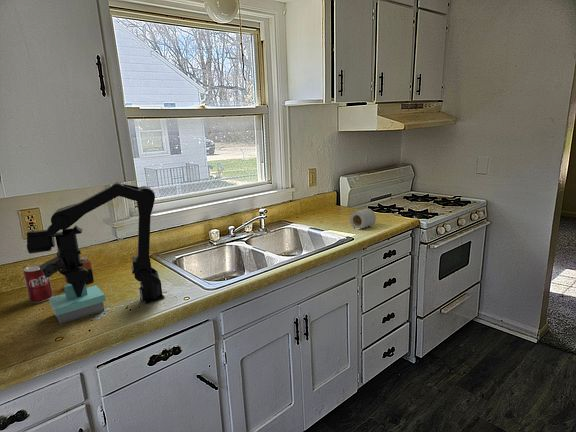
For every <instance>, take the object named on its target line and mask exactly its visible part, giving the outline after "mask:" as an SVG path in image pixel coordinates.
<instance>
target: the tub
mask: <svg viewBox="0 0 576 432" xmlns="http://www.w3.org/2000/svg"><path fill="white" fill-rule="evenodd" d="M104 311H105V307H104V302H101V303H98V304H94V305H91V306H88V307H84V308H81V309H78V310H74V311H71V312H68V313H64V314H61V315H58V316H56V315H55V317H56V320H57V321H58V323H59V325H63V324H66V323H70V322H73V321H75V320H80V319H82V318H85V317H88V316H89V317H90V316H92V315H95V314H98V313H101V312H104Z"/></svg>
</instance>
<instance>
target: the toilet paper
mask: <svg viewBox="0 0 576 432" xmlns="http://www.w3.org/2000/svg"><path fill="white" fill-rule="evenodd" d="M376 220H377V217H376V214H375V212H374V211H373V210H372V209H371V208H363V209H360V210H356V211H353V212H352V213H351V214H350V217H349V221H350V222H349V223H350V224H351V225H350V226H352V228H353V227H356V228H361V229H360V230H363V229H365V227H366V228H369V227H372V226H374V224H375V223H376ZM371 225H372V226H371ZM368 226H369V227H368ZM362 228H363V229H362Z"/></svg>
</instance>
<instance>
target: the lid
mask: <svg viewBox="0 0 576 432" xmlns="http://www.w3.org/2000/svg"><path fill="white" fill-rule="evenodd" d="M63 289H64V290H63V291H64V293H63V294H59V295H56V296H52V297H51V298H49V300H48V301H49V305H50V308H51V310H52V311H53V313H54V316H55V317H56V316H58V315H61V314H64V313H68V312H71V311H74V310H78V309H81V308H84V307H88V306H91V305H94V304H98V303H101V302H103V303H104V302H106V294H105V293H104V292H103V291H102V290H101V288H100V287H99V286H98V285H96V284H95V285H92V286H88V287H87V284H86V282H85V285H84V288H83V291H82V294H81V297H77V296H76V294H75V292H74V289H73V287H72V284H69V283H67V284H64V285H63Z"/></svg>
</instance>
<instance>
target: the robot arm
mask: <svg viewBox="0 0 576 432" xmlns="http://www.w3.org/2000/svg"><path fill="white" fill-rule="evenodd" d="M155 195H156V194H155V192H154V190H153V189H152V188H151V187H149V186H148V185H147V186H146V185H143V186H136V185H131V184H126V183H125V184H124V183H122V182H119V181H118V182H114V183H113V184H112V185H110V186H109V187H106V188H105V189H103V190H101V191H98V192H97V193H95V194H93V195H91V196H89V197H87V198H85V199H83V200H82V201H79V202H77V203H74V204H70V205H66V206H64V207H60V208H58V209H57V210H55V212H54V213H53V214H51V215H52V216H51V218H50V225H49V226H48V227H47V229H43V230H30V231H28V232H26V236H27V237H26V250H27V252H28V254H30V255H31V254H38V253H45V252H52V249H53V248H55V247H56V248H57V251H56V256H55V257H54V258H51V259H49V260H47V261H45V262H43V263H42V264H39V265H40V266H39V268H40V270H41V271H42V273H43V274H44V275H45V277H46V278H48V277H49V278H50V277H52V275H53V274H56V273H58V272H59V274H61V275H62V276H64V281H65V282H66V283H67V284H72V287H73V289H74V292H75V294H76V296H77V297H81V294H82V291H83V288H84V285H85V282H86V280H87V279H88V278H90V276H89V272H88V271H87V269H85V268H83V267H82V268H80V266H83V263H82V262H81V254H82V253H81V250H80V249H79V243H78V238H77V235H81V234H82V233H83V228H80V227H79V226H78V225H76V224H75V223H76V222H78V221H79V220H80V219H81V218H82V217H83V216H85V215H86V214H87V213H90V212H91V211H93V210H95V209H97V208H99V207H101V206H103V205H105V204H107V203H109V202H110V201H112V200H114V199H116V198H118V197H121V198H125V199H128V200H131V201H134V202H136V204H137V205H136V206H137V211H138V230H137V231H138V232H137V236H138V237H137V253H136V256H132V257H131V260H132V265H131V275H134V279H135V280H136V281H137V282H139V284H140V286H139V289H138V291H139V297H140V299H141V300H142V301H143V302H144V303H146V304H149V303H153V302H156V301H159V300H162V299H165V298H166V297H165V295H164V294H163V289H162V281H161V279H160V276H159V272H158V270H157V269H155V268H154V267H152V263H151V259H150V258H151V257H150V256H151V255H150V244H151V243H150V241H151V240H150V239H151V218H152V217H151V215H152V212H153V209H154V206H155V205H154V204H155V200H156V196H155ZM74 224H75V225H74ZM73 225H74V226H73ZM71 226H73V227H72V228H70V227H71ZM59 231H60V232H59Z"/></svg>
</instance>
